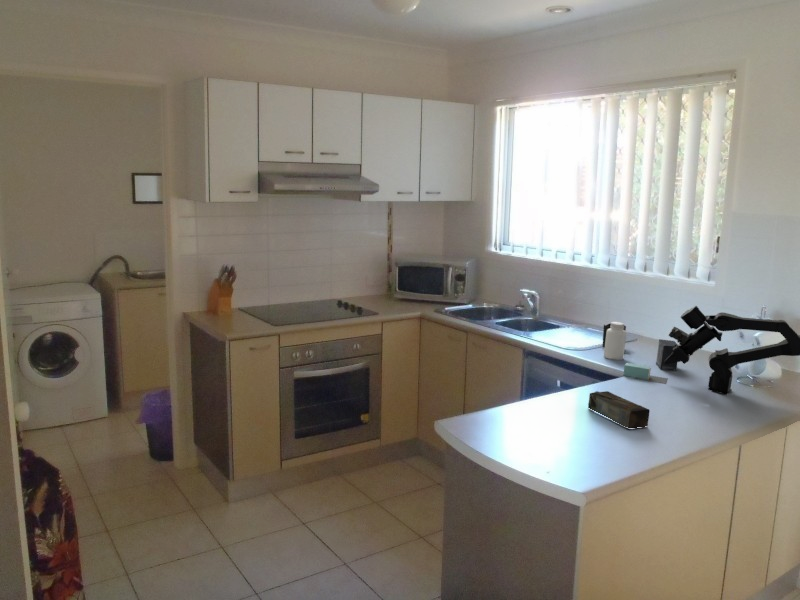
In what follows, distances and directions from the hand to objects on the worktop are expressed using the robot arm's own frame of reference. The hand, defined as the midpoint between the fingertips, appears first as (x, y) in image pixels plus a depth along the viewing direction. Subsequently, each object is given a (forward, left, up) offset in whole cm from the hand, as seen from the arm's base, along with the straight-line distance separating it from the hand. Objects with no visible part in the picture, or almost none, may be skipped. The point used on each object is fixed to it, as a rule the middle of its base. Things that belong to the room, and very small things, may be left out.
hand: (664, 363), depth 247 cm
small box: (+6, -20, -7) cm, 22 cm away
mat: (+4, +1, -7) cm, 8 cm away
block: (+5, +1, -5) cm, 7 cm away
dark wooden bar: (-6, +50, -8) cm, 51 cm away
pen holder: (+36, -33, -7) cm, 49 cm away
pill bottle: (+27, -17, -7) cm, 33 cm away
